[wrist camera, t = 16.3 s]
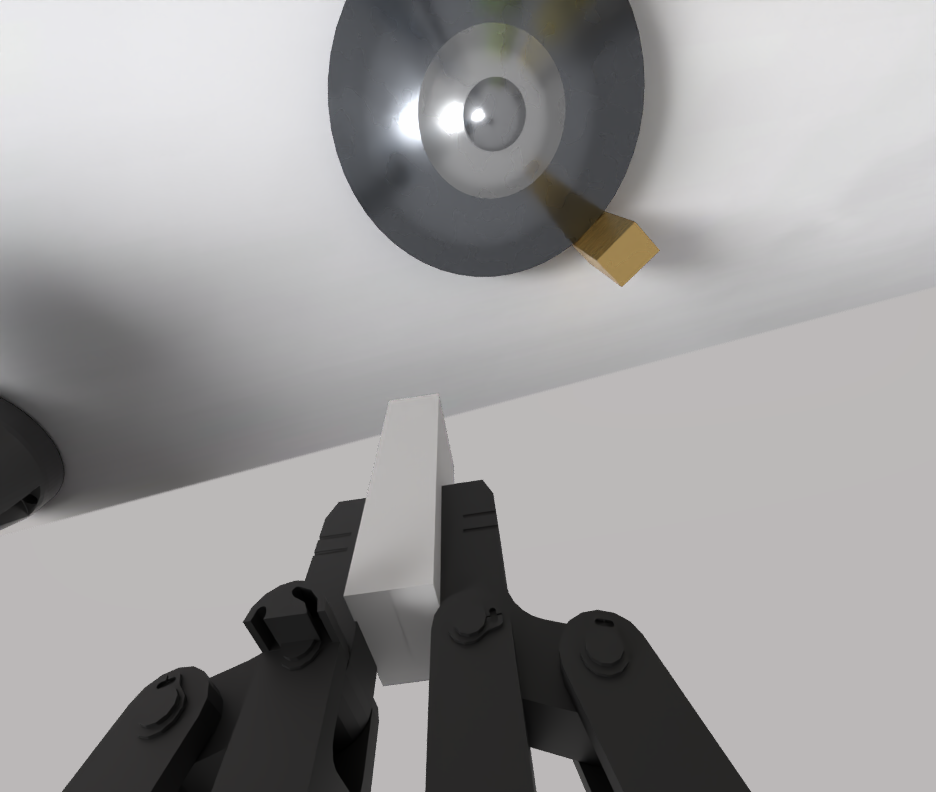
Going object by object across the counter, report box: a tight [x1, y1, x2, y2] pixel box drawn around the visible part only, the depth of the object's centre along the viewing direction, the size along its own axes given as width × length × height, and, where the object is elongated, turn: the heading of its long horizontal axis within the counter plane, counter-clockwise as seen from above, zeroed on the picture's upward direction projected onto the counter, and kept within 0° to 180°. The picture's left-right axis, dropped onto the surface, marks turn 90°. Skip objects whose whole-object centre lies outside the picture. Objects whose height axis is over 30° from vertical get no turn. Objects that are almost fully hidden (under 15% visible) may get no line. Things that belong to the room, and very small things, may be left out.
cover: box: [418, 22, 566, 199], centre depth 25 cm, size 8×8×7 cm
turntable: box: [328, 0, 660, 287], centre depth 26 cm, size 20×22×7 cm
